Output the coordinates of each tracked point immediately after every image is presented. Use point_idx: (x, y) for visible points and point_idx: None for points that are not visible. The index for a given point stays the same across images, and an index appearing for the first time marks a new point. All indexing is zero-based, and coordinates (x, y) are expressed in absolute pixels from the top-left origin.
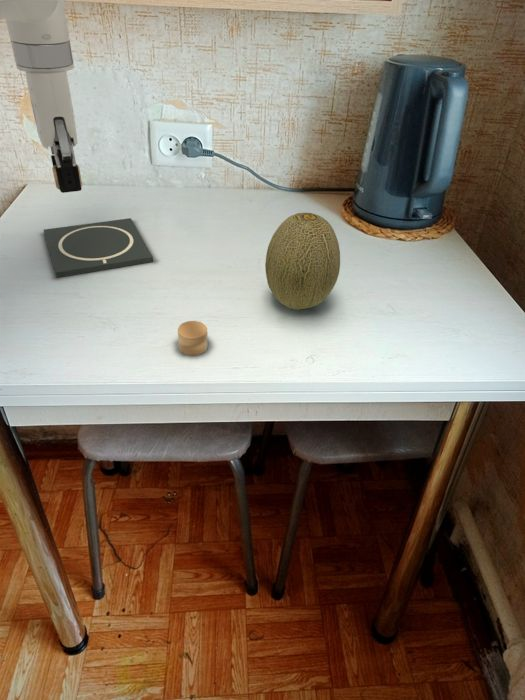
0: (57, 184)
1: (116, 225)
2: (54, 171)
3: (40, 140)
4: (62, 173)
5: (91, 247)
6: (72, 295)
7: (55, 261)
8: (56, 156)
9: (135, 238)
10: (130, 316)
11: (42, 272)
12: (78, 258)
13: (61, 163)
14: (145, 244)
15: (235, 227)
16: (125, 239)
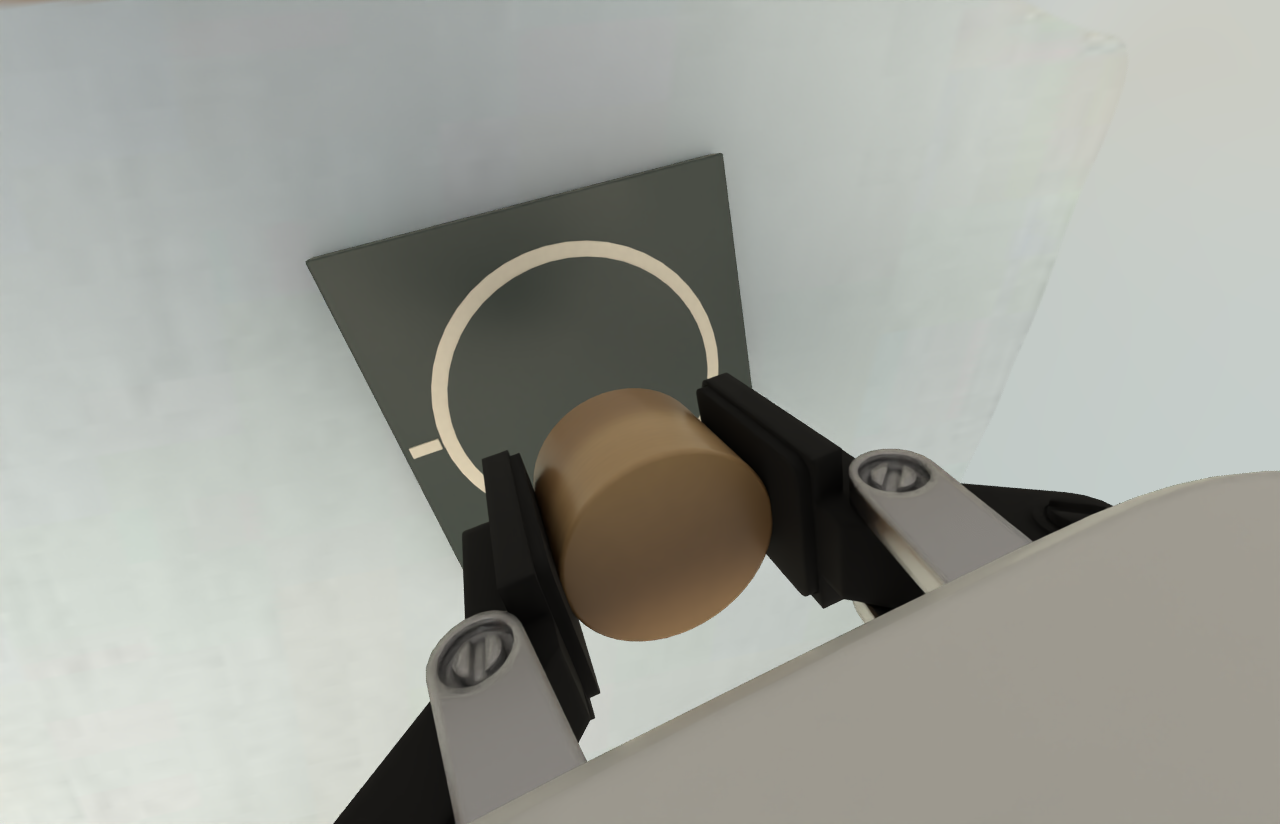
0: (572, 430)
1: None
2: (601, 481)
3: (691, 755)
4: (480, 600)
5: (539, 383)
6: (152, 349)
7: (415, 247)
8: (447, 779)
9: None
10: (22, 590)
11: (358, 183)
12: (445, 345)
13: (369, 779)
14: None
15: None
16: None
